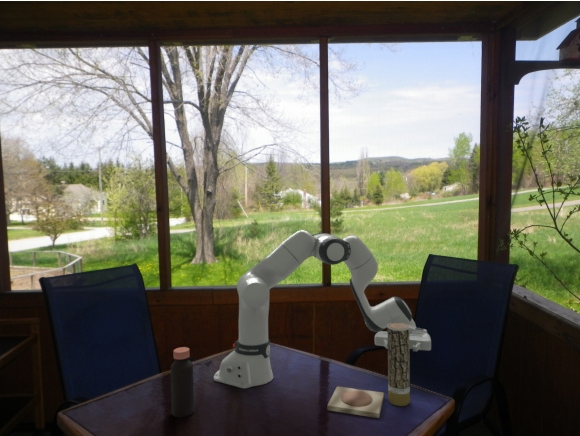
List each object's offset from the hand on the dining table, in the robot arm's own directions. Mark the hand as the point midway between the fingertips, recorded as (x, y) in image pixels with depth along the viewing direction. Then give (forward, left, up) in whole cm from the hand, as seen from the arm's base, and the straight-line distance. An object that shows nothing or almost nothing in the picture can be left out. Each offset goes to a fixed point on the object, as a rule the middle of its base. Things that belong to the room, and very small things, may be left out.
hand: (401, 347), depth 142 cm
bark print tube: (0, -13, -14) cm, 19 cm away
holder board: (-13, -18, -14) cm, 26 cm away
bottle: (-64, -40, -14) cm, 77 cm away
